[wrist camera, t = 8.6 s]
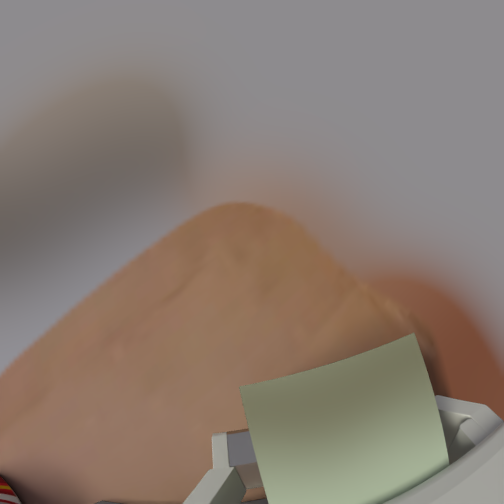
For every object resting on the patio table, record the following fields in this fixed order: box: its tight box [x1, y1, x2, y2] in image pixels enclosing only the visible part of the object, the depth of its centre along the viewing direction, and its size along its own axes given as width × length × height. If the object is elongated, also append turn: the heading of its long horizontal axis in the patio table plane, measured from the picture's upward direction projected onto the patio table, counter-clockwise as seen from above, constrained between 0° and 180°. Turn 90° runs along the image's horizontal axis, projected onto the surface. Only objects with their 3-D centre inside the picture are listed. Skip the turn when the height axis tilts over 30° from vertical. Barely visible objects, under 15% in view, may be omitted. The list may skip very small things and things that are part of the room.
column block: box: [239, 333, 450, 504], centre depth 9 cm, size 4×4×10 cm
